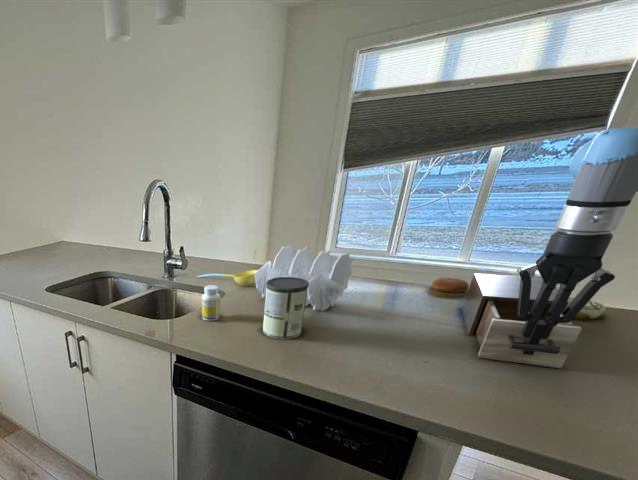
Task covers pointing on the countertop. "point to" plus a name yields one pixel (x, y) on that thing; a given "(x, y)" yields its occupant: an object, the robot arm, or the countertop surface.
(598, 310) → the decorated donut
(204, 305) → the supplement bottle
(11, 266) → the countertop surface
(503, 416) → the countertop surface
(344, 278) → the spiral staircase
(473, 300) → the cabinet
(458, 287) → the burger
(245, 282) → the ladle
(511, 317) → the drawer
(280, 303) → the coffee can
